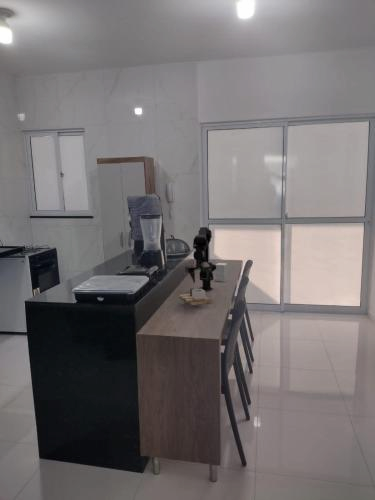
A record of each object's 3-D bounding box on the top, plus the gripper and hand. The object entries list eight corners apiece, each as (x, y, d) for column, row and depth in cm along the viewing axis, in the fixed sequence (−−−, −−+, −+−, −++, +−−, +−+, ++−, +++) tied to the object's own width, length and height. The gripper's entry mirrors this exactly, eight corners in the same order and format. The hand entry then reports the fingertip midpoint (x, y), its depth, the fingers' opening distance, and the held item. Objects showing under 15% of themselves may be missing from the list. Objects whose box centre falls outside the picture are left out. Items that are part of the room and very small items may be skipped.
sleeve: (192, 299, 227) (192, 289, 226) (201, 297, 230) (200, 288, 229) (196, 301, 222) (196, 292, 221) (205, 300, 224) (205, 290, 223)
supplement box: (228, 279, 278) (228, 263, 276) (224, 282, 272) (224, 265, 270) (219, 278, 282) (219, 262, 280) (215, 281, 276) (214, 264, 273)
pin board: (179, 296, 237) (179, 288, 236) (198, 294, 242) (197, 285, 241) (192, 305, 219) (192, 296, 218) (211, 302, 224) (211, 293, 223)
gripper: (191, 260, 214) (192, 287, 217) (220, 257, 221) (220, 283, 224) (184, 257, 224) (185, 282, 227) (212, 254, 231) (212, 278, 234)
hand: (201, 281), depth 228 cm, fingers open, 9 cm apart
